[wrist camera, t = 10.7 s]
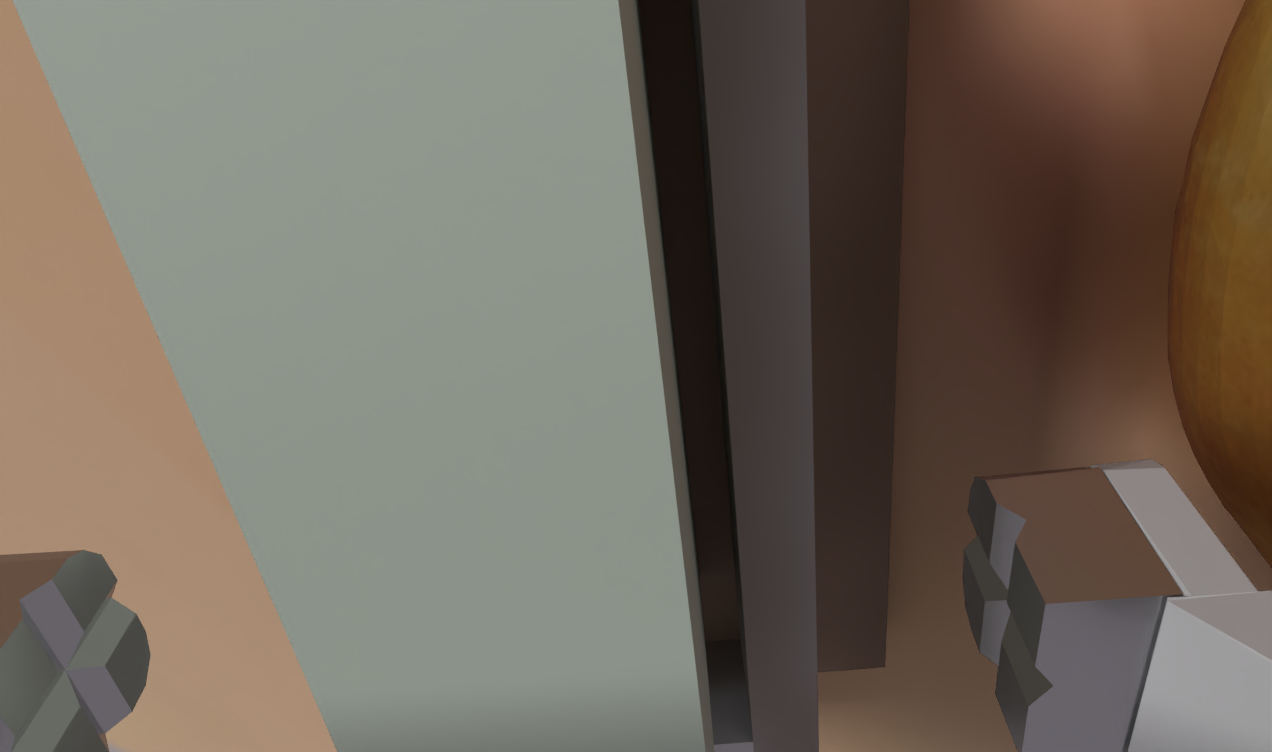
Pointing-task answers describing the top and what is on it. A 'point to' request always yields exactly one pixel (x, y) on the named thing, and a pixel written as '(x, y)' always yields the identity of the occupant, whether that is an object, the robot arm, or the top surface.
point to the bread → (1229, 281)
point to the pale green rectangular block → (418, 345)
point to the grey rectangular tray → (783, 333)
